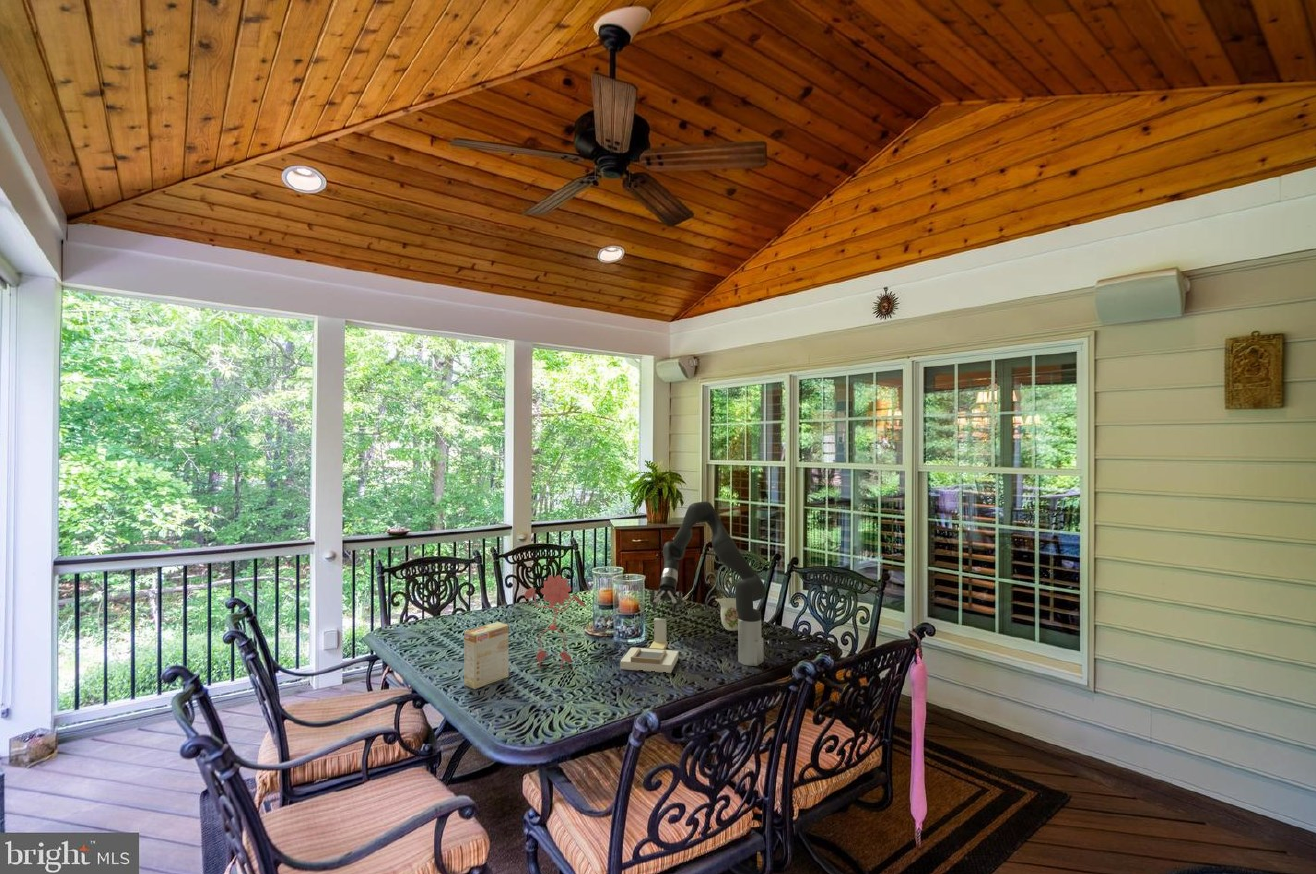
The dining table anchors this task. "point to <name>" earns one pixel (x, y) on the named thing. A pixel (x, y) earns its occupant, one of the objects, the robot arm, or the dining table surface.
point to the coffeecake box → (486, 655)
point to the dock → (649, 659)
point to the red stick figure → (554, 593)
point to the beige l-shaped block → (659, 635)
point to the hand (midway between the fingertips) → (663, 612)
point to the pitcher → (729, 613)
